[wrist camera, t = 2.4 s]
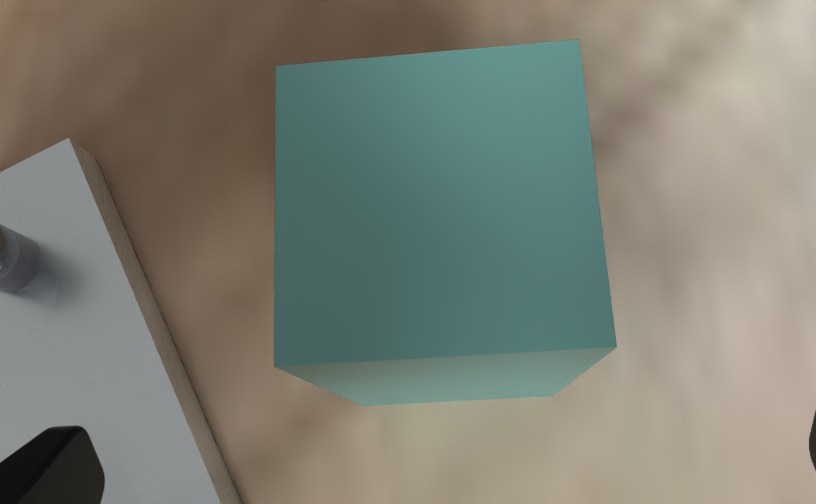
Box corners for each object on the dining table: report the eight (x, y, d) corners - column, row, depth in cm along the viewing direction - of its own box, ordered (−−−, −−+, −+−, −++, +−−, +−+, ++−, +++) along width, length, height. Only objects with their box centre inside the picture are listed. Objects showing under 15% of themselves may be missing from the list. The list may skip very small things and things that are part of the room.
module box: (552, 395, 19) (616, 346, 10) (363, 405, 19) (273, 366, 11) (535, 214, 20) (578, 38, 12) (358, 227, 21) (275, 65, 12)
